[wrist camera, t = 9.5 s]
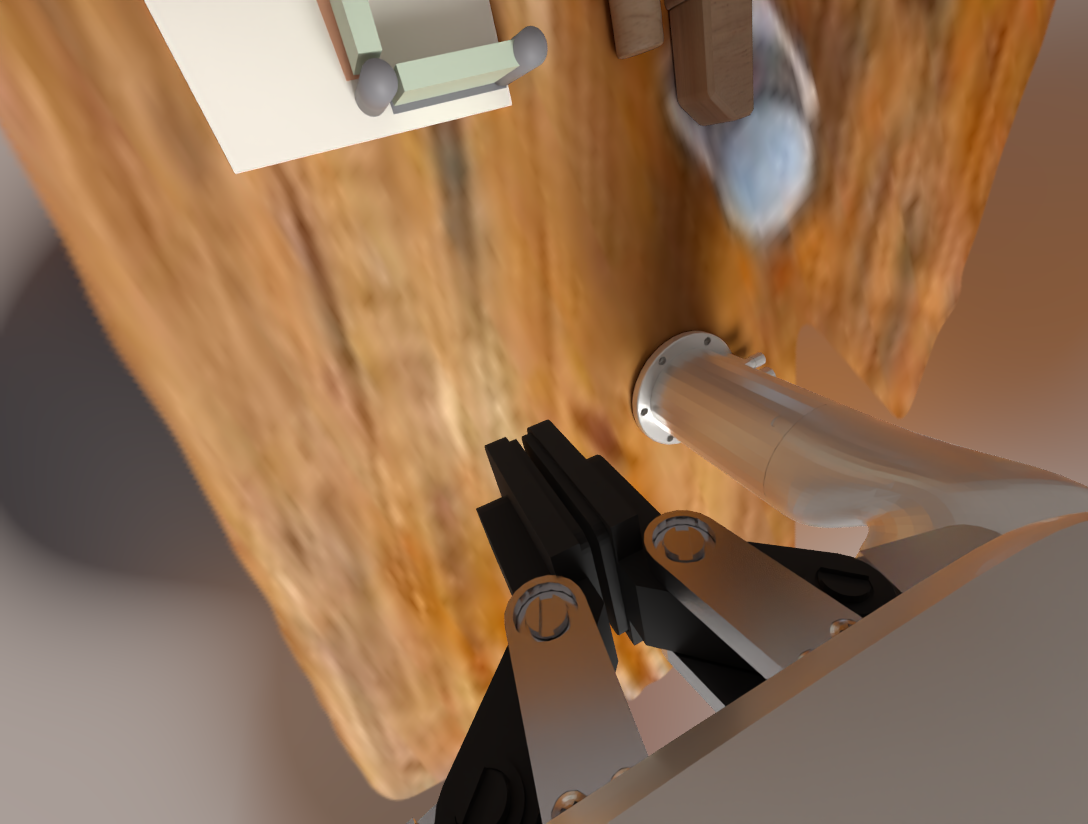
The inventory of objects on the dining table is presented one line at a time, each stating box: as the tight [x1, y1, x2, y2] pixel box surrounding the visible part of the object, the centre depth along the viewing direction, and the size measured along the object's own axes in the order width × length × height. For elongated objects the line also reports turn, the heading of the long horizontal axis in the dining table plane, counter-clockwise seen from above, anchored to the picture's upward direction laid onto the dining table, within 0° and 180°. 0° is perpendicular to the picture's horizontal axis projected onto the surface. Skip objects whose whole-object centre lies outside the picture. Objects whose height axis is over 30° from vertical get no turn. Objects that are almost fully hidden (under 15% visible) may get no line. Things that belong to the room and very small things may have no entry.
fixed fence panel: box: [355, 26, 547, 117], centre depth 26 cm, size 10×2×6 cm, turn 104°
